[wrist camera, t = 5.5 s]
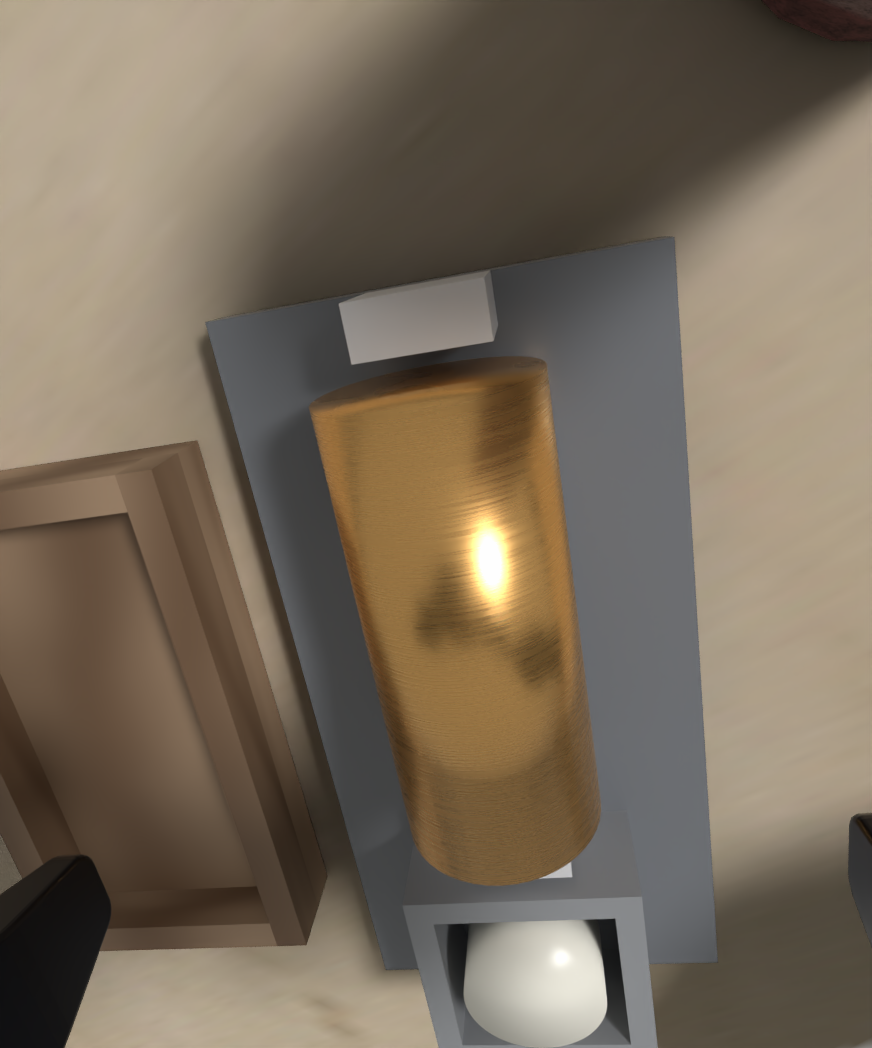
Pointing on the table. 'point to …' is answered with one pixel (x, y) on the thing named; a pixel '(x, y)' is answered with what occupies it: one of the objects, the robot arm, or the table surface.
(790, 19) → the can
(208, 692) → the trough
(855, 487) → the table surface
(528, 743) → the cell
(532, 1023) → the bulb
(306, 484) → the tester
